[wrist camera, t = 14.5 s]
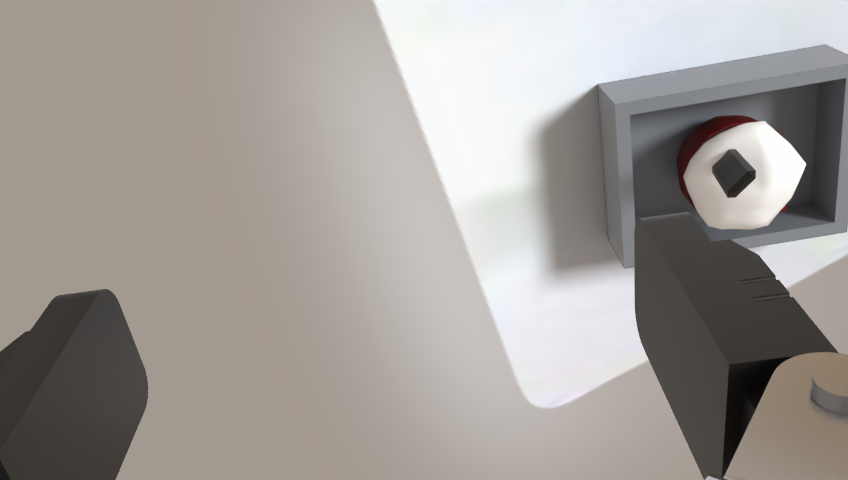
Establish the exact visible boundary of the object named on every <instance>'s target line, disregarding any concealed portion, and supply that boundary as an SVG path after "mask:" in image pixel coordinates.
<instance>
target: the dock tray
mask: <svg viewBox="0 0 848 480" xmlns="http://www.w3.org/2000/svg"><path fill="white" fill-rule="evenodd" d="M598 96H599V111H600V126H601V141H602V155H603V170H604V185H605V200H606V215H607V229H608V240H609V242H610V244H611V245H612V247H613V249H614V251H615V253H616V254H617V256H618V258H619V260H620V262H621V263H622V265H623V267H624V269H625V268H631V267H635V262H634V230H635V223H636V221H637V219H639V218H645V217H653V216H660V215H668V214H675V213H683V212H689V213H690V214H691V215H692V216H693V217H694V219H695V220H696V221H697V223H698V224H699V225H700V227H701V228H702V229H703V231H704V232H705V234H706V235H707V236H708V238H709V239H710V240H711V242H713V241H721V240H728V239H730V240H732V241H734V242H736V243H737V244H739V245H741V246H743V247H745V248H753V247H759V246H765V245H771V244H777V243H783V242H789V241H796V240H802V239H808V238H814V237H820V236H826V235H832V234H838V233H844V232H847V227H848V54H845V53H843V52H841V51H839V50H837V49H834V48H832V47H830V46H828V45H821V46H815V47H809V48H803V49H798V50H792V51H786V52H780V53H775V54H769V55H763V56H757V57H752V58H746V59H740V60H734V61H729V62H723V63H717V64H712V65H706V66H700V67H694V68H689V69H683V70H677V71H671V72H666V73H660V74H654V75H648V76H643V77H637V78H631V79H625V80H620V81H614V82H608V83H602V84H598ZM728 115H743V116H747V117H751V118H753V119H755V120H758V121H765V122H766V123H767V124H769V125H770V126H771V127H772V128H774V129H776V130H777V131H779V133H780V134H781V135H782V137H783V138H784V139H786V140H787V141H788V142H789V143H790V144H791V145H792V146H793V148H794V149H795V150H796V151H797V153H798V154H799V155H800V157H801V158H802V159H803V160H804V162H805V163H806V166H805V169H804V171H803V173H802V176H801V178H800V181H799V183H798V185H797V187H796V190H795V192H794V194H793V196H792V198H791V199H790V200H789V201H788V203H787V204H786V206H787V207H788V208H787V210H786V211H785V212H783V213H781V212H779V213H778V214H777V215H776V216H775V218H774V219H773V220H772V221H771V222H770V224H769V225H768V226H764V227H760V228H756V229H752V230H749V229H724V230H722V229H718V228H714V227H709V226H708V225H707V224H706V223H705V221H704V220H703V219H702V217H701V216H700V215H699V214H698V213H697V211H696V210H695V209H694V207H693V206H692V205H691V204H690V202H689V201H688V200H687V198H686V197H685V196H684V194H683V193H682V191H681V189H680V185H679V179H678V171H677V163H676V159H677V156H678V153H679V150H680V148H681V145H682V142H683V141H684V139H685V138H686V137H687V136H688V135H689V134H690V133H691V132H692V131H693V130H694V128H695V127H696V126H697V125H699V124H701V123H703V122H705V121H707V120H710V119H712V118H714V117H716V116H728Z"/></svg>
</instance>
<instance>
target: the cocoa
mask: <svg viewBox="0 0 848 480" xmlns="http://www.w3.org/2000/svg"><path fill="white" fill-rule="evenodd" d="M676 163H677V171H678V179H679V185H680V189H681V191H682V193H683V194H684V196H685V197H686V198H687V200H688V201H689V202H690V204H691V205H692V206H693V207H694V209H695V210H696V211H697V213H698V214H699V215H700V216H701V217H702V219H703V220H704V221H705V223H706V224H707V225H708V226H709V227H714V228H718V229H722V230H724V229H749V230H752V229H756V228H760V227H764V226H768V225H769V224H770V222H771V221H772V220H773V219H774V218H775V216H776V215H777V214H778V213H779V212H781V213H783V212H785V211H786V210H787V208H788V207H787V206H786V204H787V203H788V201H789V200H790V199H791V198H792V196H793V194H794V192H795V190H796V187H797V185H798V183H799V181H800V178H801V176H802V173H803V171H804V169H805V166H806V163H805V162H804V160H803V159H802V158H801V157H800V155H799V154H798V153H797V151H796V150H795V149H794V148H793V146H792V145H791V144H790V143H789V142H788V141H787V140H786V139H784V138H783V137H782V135H781V134H780V133H779V131H777V130H776V129H774V128H772V127H771V126H770V125H769V124H767V123H766V122H765V121H758V120H755V119H753V118H751V117H747V116H743V115H728V116H716V117H714V118H712V119H710V120H707V121H705V122H703V123H701V124H699V125H697V126H696V127H695V128H694V130H693V131H692V132H691V133H690V134H689V135H688V136H687V137H686V138H685V139H684V141H683V142H682V145H681V148H680V150H679V153H678V156H677V159H676Z"/></svg>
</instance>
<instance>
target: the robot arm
mask: <svg viewBox="0 0 848 480" xmlns="http://www.w3.org/2000/svg"><path fill="white" fill-rule="evenodd" d="M634 262H635V314H636V322H637V327H638V332H639V336H640V339H641V343H642V345H643V348H644V350H645V352H646V354H647V356H648V359H649V361H650V363H651V365H652V367H653V369H654V371H655V374H656V376H657V378H658V380H659V383H660V385H661V387H662V389H663V391H664V393H665V395H666V398H667V400H668V402H669V404H670V406H671V409H672V411H673V413H674V415H675V417H676V419H677V421H678V424H679V426H680V428H681V430H682V432H683V435H684V437H685V439H686V441H687V443H688V445H689V448H690V450H691V452H692V454H693V456H694V458H695V461H696V463H697V465H698V467H699V469H700V472H701V474H702V476H703V478H704V480H848V355H847V354H842V353H838V352H837V350H836V349H835V348H834V347H833V346H832V345H831V343H830V342H829V341H828V339H827V338H826V337H825V336H824V335H823V333H822V332H821V331H820V330H819V329H818V327H817V326H816V325H815V324H814V322H813V321H812V320H811V319H810V318H809V317H808V315H807V314H806V313H805V311H804V310H803V309H802V308H801V306H800V305H799V304H798V303H797V302H796V300H795V299H794V298H793V297H790V296H789V292H788V291H787V289H786V288H785V287H784V286H783V284H782V283H781V282H780V281H779V280H776V278H775V275H774V273H773V272H772V271H771V270H770V269H769V267H768V266H767V265H766V264H765V262H764V261H763V260H762V259H761V257H760V256H759V255H757V254H756V253H754V252H752V251H750V250H748V249H747V248H745V247H743V246H741V245H739V244H737V243H736V242H734V241H732V240H730V239H728V240H721V241H713V242H711V240H710V239H709V238H708V236H707V235H706V234H705V232H704V231H703V229H702V228H701V227H700V225H699V224H698V223H697V221H696V220H695V219H694V217H693V216H692V215H691V214H690V213H689V212H683V213H675V214H668V215H660V216H653V217H645V218H639V219H637V221H636V223H635V230H634ZM147 398H148V382H147V376H146V372H145V368H144V365H143V363H142V360H141V358H140V355H139V353H138V351H137V348H136V345H135V343H134V340H133V338H132V335H131V332H130V330H129V327H128V325H127V322H126V319H125V317H124V315H123V312H122V309H121V307H120V304H119V302H118V300H117V298H116V296H115V295H114V294H113V293H112V292H111V291H110V290H108V289H103V290H95V291H88V292H80V293H74V294H65V295H59V296H56V297H55V298H54V299H53V300H52V301H51V302H50V304H49V305H48V307H47V308H46V309H45V311H44V312H43V314H42V315H41V317H40V318H39V319H38V321H37V322H36V323H35V325H34V326H33V328H32V329H31V330H30V331H27V332H25V333H23V334H22V335H21V336H20V337H18V338H17V339H16V340H15V341H13V342H12V343H11V344H10V345H8V346H7V347H6V348H4V349H3V350H2V351H1V352H0V480H115V479H116V477H117V475H118V472H119V470H120V468H121V465H122V463H123V460H124V458H125V455H126V453H127V451H128V449H129V446H130V444H131V441H132V439H133V436H134V435H135V432H136V430H137V427H138V425H139V423H140V420H141V418H142V416H143V413H144V411H145V408H146V404H147Z"/></svg>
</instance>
